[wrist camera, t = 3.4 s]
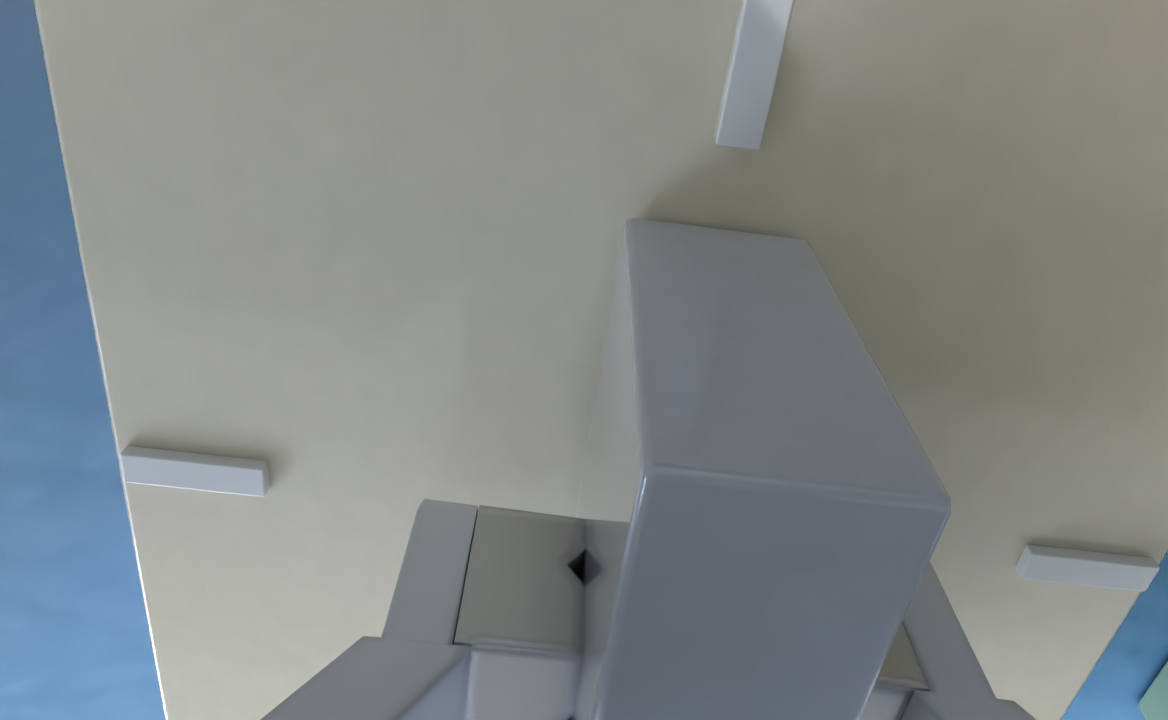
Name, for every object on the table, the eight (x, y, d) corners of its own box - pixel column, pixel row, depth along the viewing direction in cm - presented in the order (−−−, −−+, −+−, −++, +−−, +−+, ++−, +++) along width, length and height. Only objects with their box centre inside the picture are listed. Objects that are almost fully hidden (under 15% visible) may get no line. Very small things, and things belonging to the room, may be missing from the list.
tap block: (162, -364, 8) (-78, -490, 5) (1318, -182, 8) (1674, -203, 6) (259, 677, 15) (182, 863, 12) (882, 737, 15) (943, 927, 13)
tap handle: (624, 213, 7) (646, 500, 4) (809, 237, 7) (979, 537, 4) (543, 714, 10) (520, 1097, 7) (673, 727, 11) (707, 1111, 7)
